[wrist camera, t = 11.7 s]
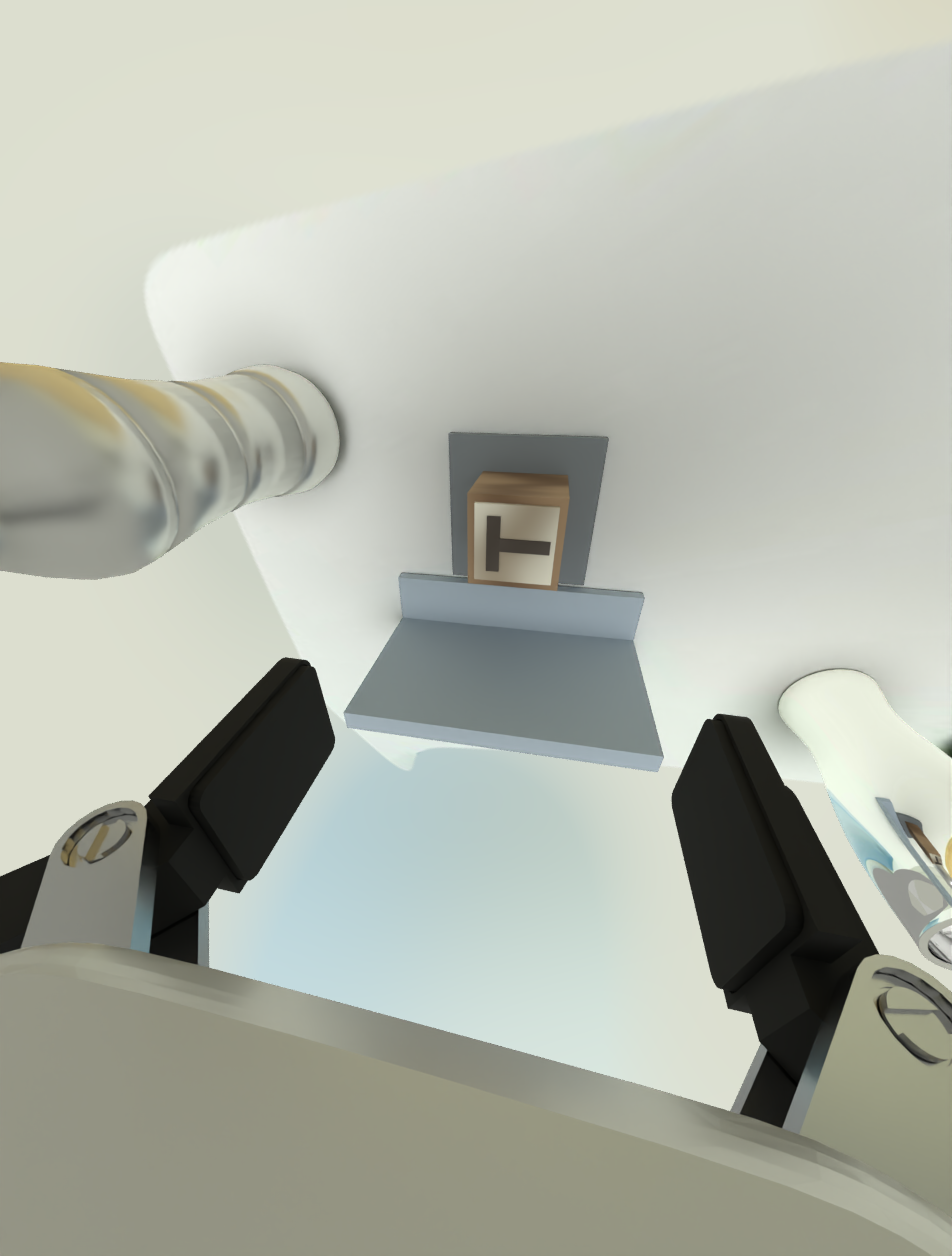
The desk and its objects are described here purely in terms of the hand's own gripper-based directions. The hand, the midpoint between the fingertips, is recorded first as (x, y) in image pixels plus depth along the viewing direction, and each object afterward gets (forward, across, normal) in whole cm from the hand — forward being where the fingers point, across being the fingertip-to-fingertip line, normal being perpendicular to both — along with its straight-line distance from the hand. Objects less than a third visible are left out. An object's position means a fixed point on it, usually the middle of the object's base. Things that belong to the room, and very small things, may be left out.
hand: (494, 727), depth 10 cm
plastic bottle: (+19, +15, -4) cm, 24 cm away
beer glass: (+19, -22, +13) cm, 32 cm away
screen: (+19, +1, +8) cm, 20 cm away
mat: (+19, +1, 0) cm, 19 cm away
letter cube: (+18, +1, 0) cm, 18 cm away
